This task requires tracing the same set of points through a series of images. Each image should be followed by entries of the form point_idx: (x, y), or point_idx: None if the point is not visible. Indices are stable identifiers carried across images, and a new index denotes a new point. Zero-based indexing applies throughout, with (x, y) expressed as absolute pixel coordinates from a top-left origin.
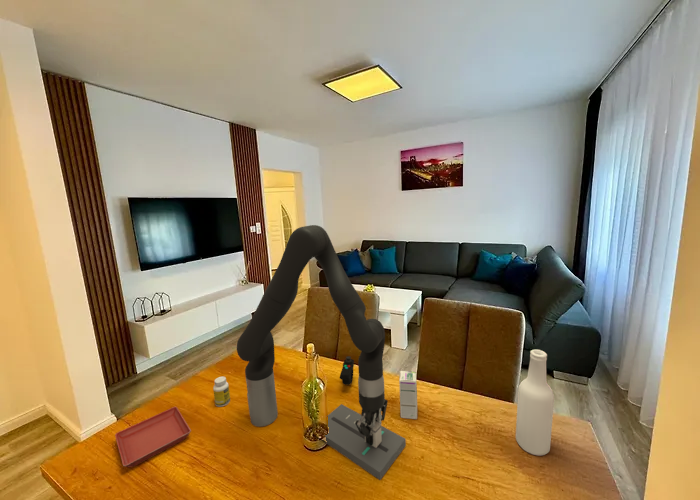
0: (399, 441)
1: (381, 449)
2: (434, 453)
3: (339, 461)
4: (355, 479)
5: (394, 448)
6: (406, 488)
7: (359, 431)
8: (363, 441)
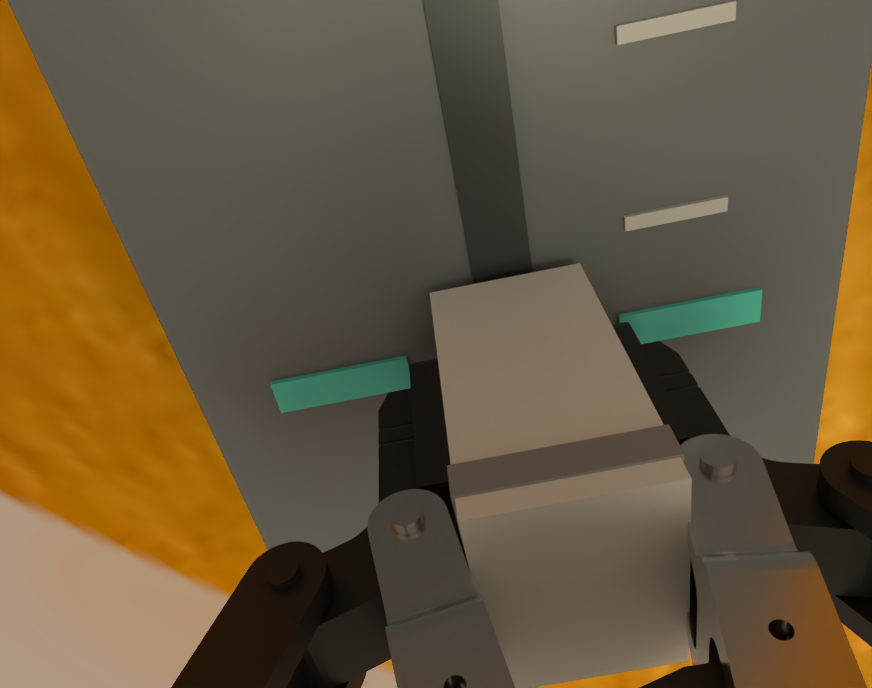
0: None
1: None
2: None
3: (23, 146)
4: (102, 420)
5: None
6: None
7: (206, 647)
8: (422, 256)
